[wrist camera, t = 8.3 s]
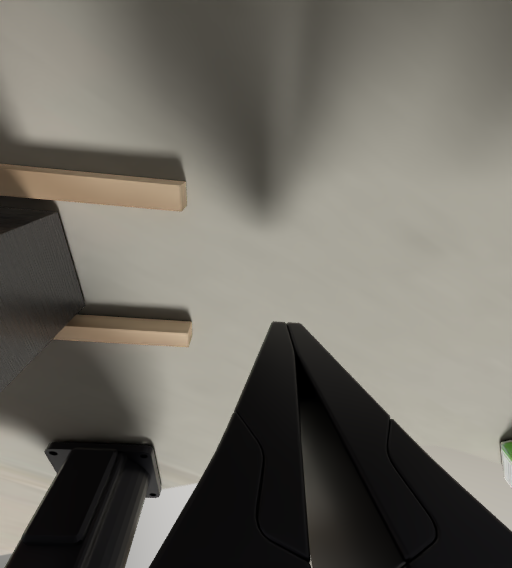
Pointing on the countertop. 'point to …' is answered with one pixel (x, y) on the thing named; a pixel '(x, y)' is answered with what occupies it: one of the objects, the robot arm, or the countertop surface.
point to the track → (107, 193)
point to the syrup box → (507, 460)
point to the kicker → (33, 286)
